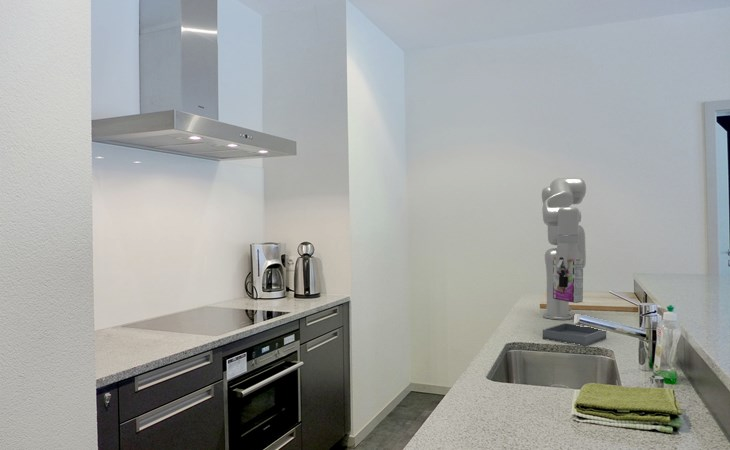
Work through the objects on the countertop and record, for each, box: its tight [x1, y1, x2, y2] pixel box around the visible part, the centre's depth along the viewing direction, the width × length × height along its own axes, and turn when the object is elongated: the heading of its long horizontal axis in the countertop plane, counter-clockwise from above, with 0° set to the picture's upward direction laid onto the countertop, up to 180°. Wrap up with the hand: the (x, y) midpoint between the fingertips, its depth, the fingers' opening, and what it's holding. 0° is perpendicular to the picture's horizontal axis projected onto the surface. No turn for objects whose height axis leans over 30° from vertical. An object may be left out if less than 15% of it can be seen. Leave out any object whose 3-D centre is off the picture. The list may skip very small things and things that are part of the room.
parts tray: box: [542, 322, 607, 347], centre depth 208 cm, size 18×16×4 cm
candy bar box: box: [553, 257, 584, 304], centre depth 211 cm, size 11×5×16 cm, turn 23°
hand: (567, 285), depth 211 cm, fingers closed on candy bar box, 6 cm apart
